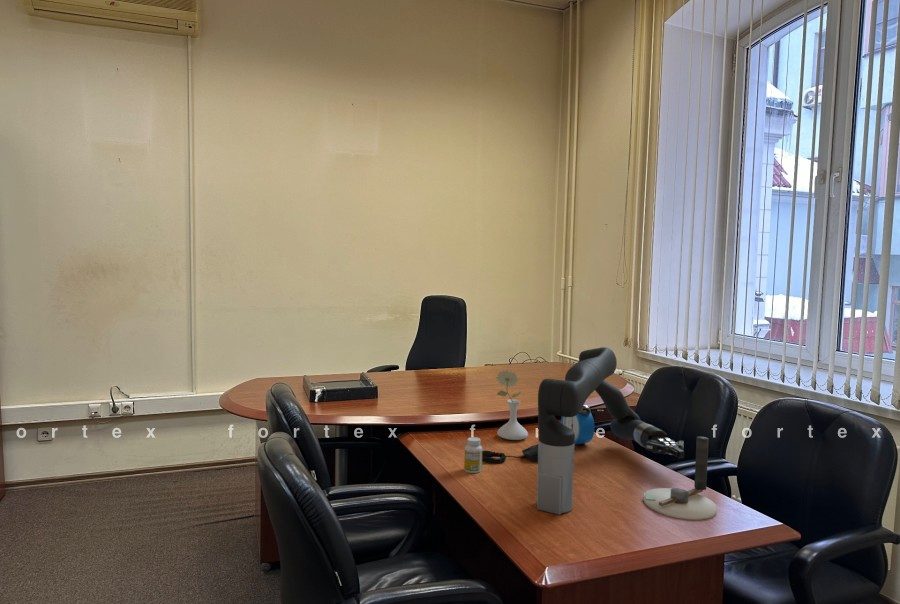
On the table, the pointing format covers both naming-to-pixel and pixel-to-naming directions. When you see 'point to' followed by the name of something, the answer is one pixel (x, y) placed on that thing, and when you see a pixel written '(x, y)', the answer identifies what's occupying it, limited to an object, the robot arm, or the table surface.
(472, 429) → the table surface
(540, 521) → the table surface
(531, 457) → the computer mouse
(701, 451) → the dial
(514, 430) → the flower in vase
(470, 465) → the supplement bottle
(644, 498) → the plate
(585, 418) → the alarm clock
